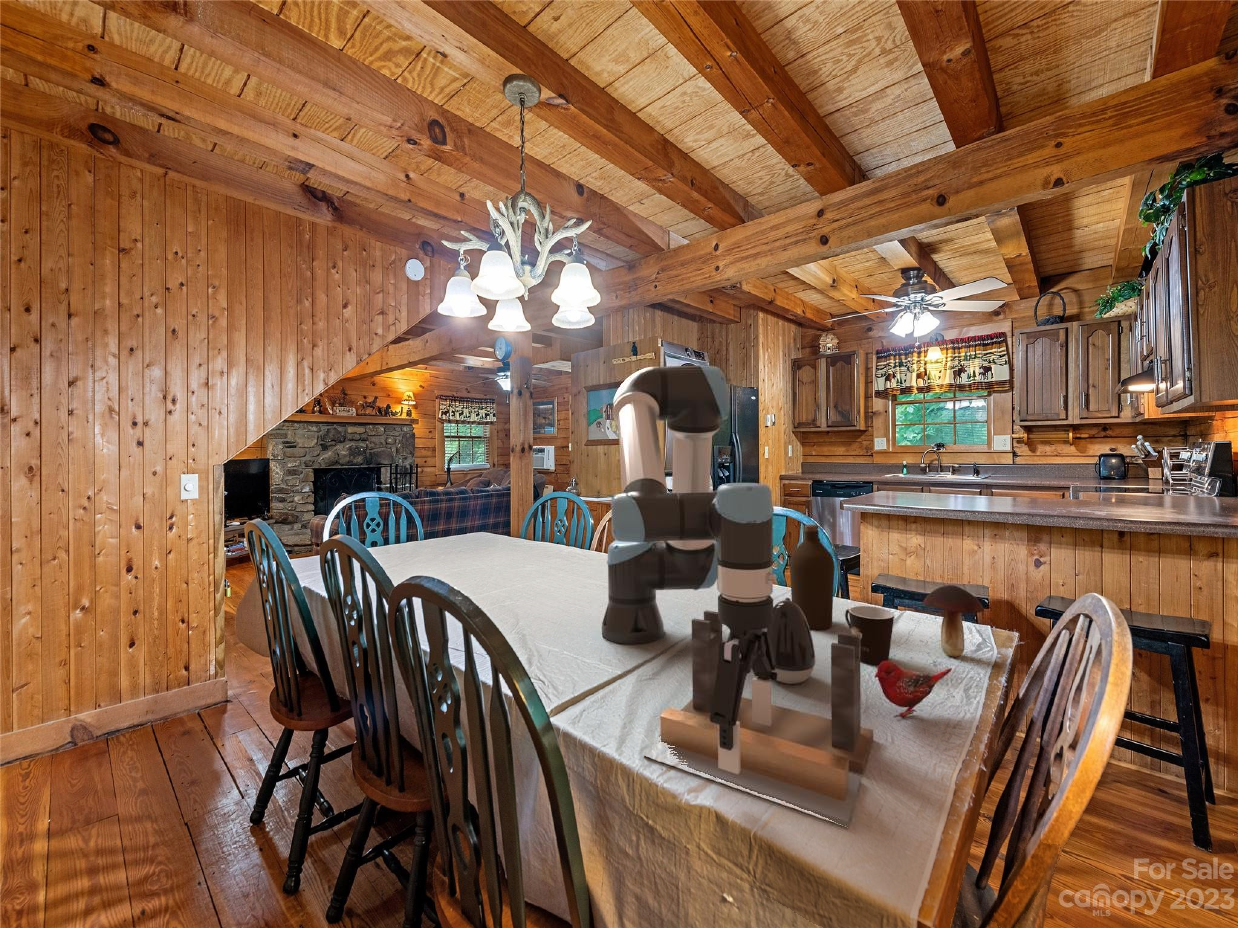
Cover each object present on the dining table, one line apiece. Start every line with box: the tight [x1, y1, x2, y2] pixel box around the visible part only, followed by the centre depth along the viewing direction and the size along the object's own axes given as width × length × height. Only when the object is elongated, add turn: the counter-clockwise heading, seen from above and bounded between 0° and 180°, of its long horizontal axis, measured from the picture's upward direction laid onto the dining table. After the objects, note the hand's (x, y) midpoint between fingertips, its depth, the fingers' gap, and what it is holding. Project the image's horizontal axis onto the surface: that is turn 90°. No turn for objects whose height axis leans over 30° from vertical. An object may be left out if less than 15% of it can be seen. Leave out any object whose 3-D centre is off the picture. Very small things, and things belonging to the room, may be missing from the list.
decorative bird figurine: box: [874, 660, 953, 718], centre depth 88 cm, size 3×18×10 cm, turn 111°
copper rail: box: [659, 707, 850, 802], centre depth 74 cm, size 26×3×4 cm, turn 57°
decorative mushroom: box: [922, 584, 985, 658], centre depth 111 cm, size 11×11×15 cm
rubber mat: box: [658, 733, 862, 828], centre depth 74 cm, size 28×10×1 cm, turn 57°
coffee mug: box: [844, 605, 895, 667], centre depth 112 cm, size 12×9×10 cm
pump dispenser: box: [769, 597, 817, 685], centre depth 102 cm, size 10×10×15 cm
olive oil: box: [789, 523, 836, 631], centre depth 132 cm, size 11×11×25 cm
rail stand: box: [680, 609, 874, 775], centre depth 84 cm, size 28×10×16 cm, turn 57°
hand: (746, 744), depth 74 cm, fingers open, 13 cm apart
